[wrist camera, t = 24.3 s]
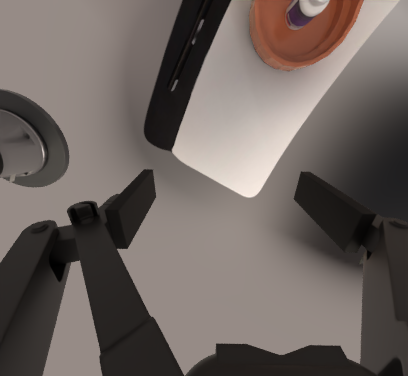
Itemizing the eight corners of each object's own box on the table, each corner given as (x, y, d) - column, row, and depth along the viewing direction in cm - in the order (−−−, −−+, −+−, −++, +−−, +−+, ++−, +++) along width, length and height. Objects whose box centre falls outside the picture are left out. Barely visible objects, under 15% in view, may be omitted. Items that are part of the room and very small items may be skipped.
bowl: (231, 43, 34) (235, 34, 30) (286, -83, 27) (300, -116, 23) (302, 87, 37) (314, 84, 33) (367, -16, 30) (392, -35, 26)
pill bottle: (306, 31, 33) (336, 8, 25) (281, 30, 33) (304, 7, 25) (313, -3, 31) (349, -39, 23) (287, -4, 31) (314, -40, 23)
